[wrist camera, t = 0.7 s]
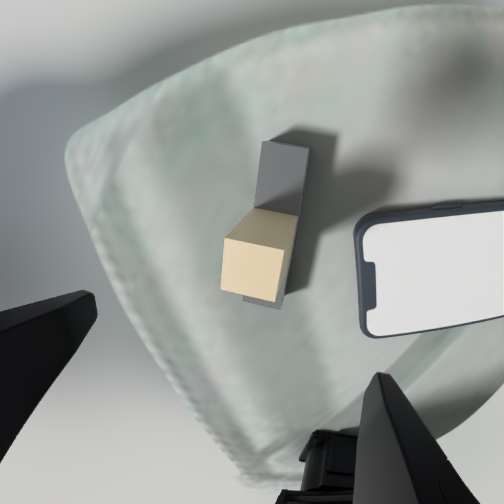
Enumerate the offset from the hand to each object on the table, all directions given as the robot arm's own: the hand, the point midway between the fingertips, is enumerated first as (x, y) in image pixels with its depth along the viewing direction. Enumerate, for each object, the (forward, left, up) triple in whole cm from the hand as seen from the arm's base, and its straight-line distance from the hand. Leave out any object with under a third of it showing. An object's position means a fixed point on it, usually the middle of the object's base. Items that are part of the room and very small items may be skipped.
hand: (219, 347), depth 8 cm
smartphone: (0, -13, -13) cm, 18 cm away
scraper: (0, 0, -12) cm, 12 cm away
